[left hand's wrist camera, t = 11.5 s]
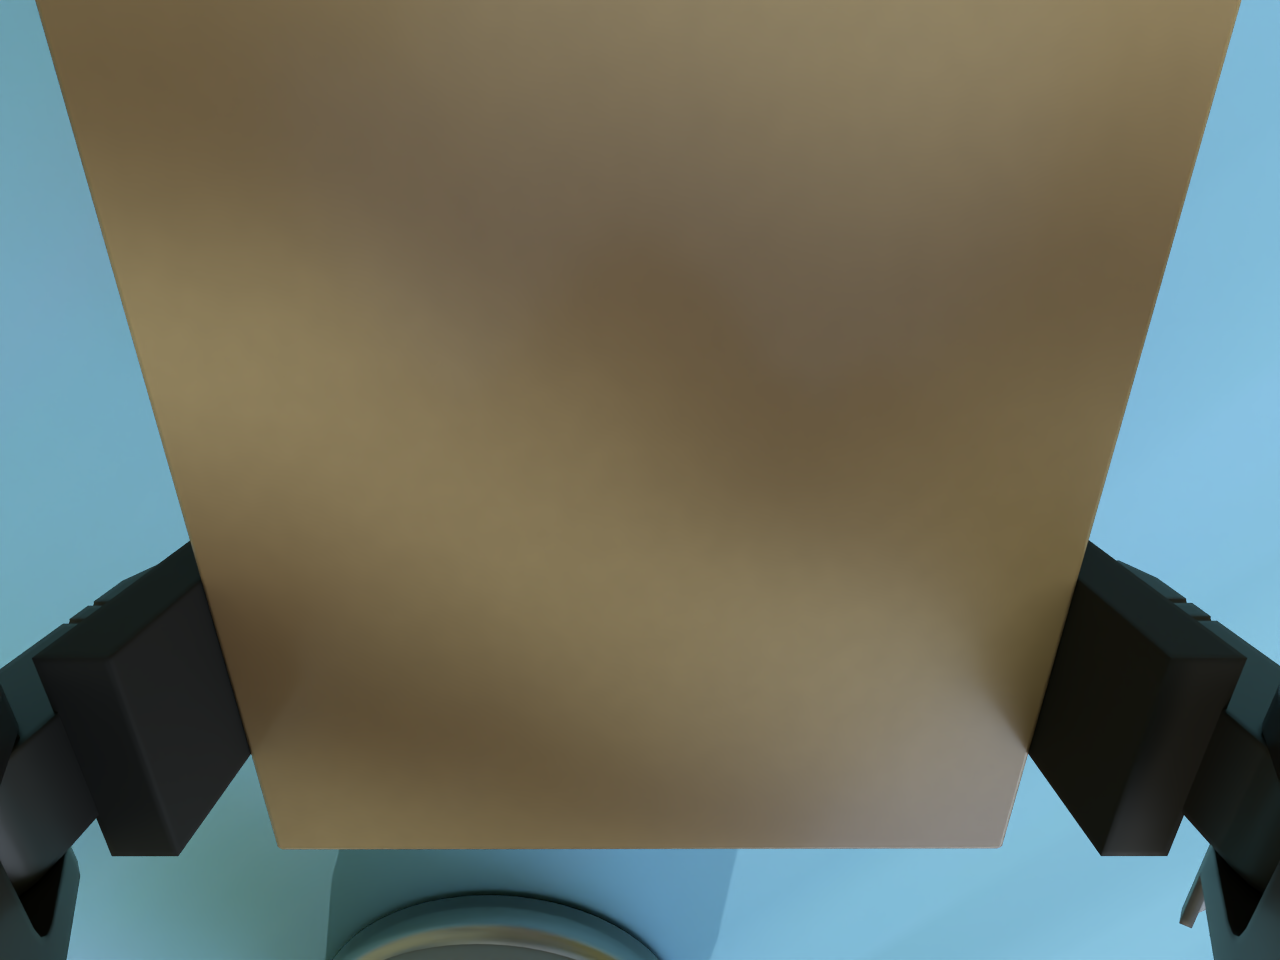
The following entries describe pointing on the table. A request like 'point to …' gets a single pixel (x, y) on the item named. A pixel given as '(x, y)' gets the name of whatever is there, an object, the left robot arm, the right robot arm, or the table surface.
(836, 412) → the tan cardboard box
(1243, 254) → the table surface
